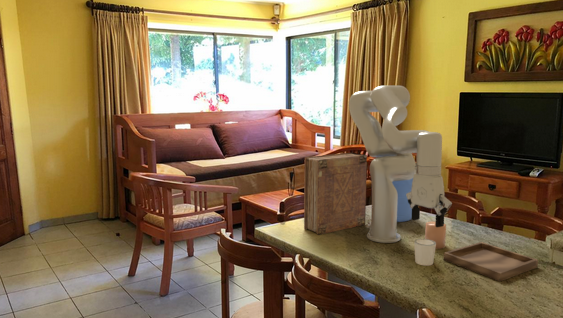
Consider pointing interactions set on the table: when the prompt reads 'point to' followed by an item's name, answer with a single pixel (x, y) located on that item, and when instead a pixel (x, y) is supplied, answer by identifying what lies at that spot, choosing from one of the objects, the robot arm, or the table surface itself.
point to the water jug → (403, 200)
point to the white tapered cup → (424, 251)
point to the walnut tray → (491, 261)
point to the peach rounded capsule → (436, 234)
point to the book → (334, 192)
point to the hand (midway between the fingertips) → (427, 223)
